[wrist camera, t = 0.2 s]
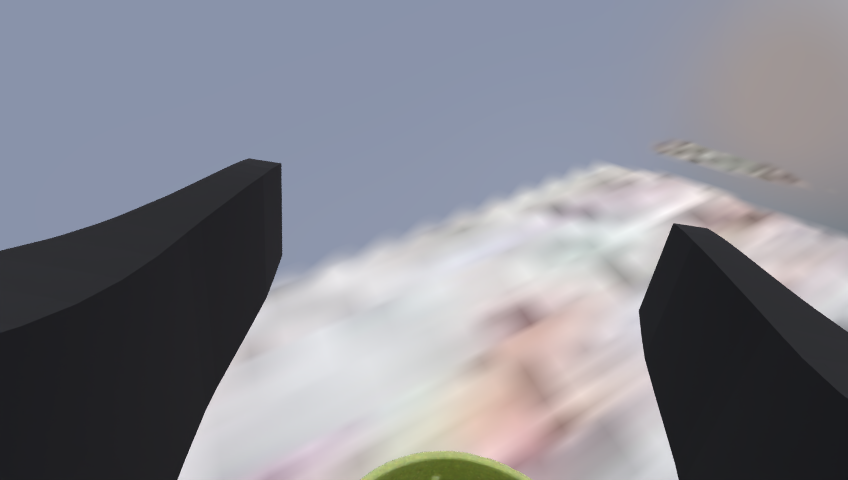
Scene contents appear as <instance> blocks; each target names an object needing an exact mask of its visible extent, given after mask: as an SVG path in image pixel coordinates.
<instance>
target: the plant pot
mask: <svg viewBox="0 0 848 480" xmlns="http://www.w3.org/2000/svg"><path fill="white" fill-rule="evenodd" d="M361 480H532V479H530V478H529V477H527V476H525V475H524V474H522V473H520V472H518V471H516V470H514V469H512V468H510V467H509V466H507V465H505V464H502V463H500V462H497V461H495V460H492V459H488V458H484V457H480V456H477V455H473V454H469V453H464V452H455V451H434V452H421V453H416V454H411V455H408V456H404V457H400V458H398V459H395V460H392V461H390V462H387V463H385V464H384V465H382V466H379V467H378V468H376V469H374V470H373V471H371V472H370V473H368V474H367V475H365V476H364V477H363V478H362V479H361Z"/></svg>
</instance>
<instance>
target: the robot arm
mask: <svg viewBox="0 0 848 480" xmlns="http://www.w3.org/2000/svg"><path fill="white" fill-rule="evenodd" d="M281 190H282V189H281V163H274V162H268V161H262V160H255V159H246V160H243V161H240V162H238V163H236V164H233V165H231V166H229V167H227V168H224V169H222V170H220V171H218V172H216V173H214V174H212V175H210V176H208V177H206V178H204V179H202V180H199V181H197V182H195V183H194V184H191V185H189V186H187V187H185V188H183V189H181V190H178V191H176V192H174V193H172V194H170V195H168V196H165V197H163V198H161V199H158V200H156V201H154V202H151V203H149V204H146V205H144V206H142V207H139V208H137V209H135V210H132V211H130V212H127V213H125V214H123V215H120V216H118V217H115V218H112V219H110V220H107V221H104V222H101V223H98V224H96V225H93V226H89V227H86V228H83V229H80V230H77V231H74V232H70V233H67V234H65V235H61V236H58V237H54V238H50V239H47V240H42V241H38V242H34V243H30V244H26V245H22V246H19V247H14V248H10V249H6V250H2V251H0V480H177V479H178V477H179V474H180V472H181V469H182V466H183V464H184V461H185V459H186V456H187V454H188V451H189V449H190V447H191V444H192V442H193V439H194V437H195V435H196V432H197V430H198V427H199V425H200V423H201V420H202V418H203V415H204V413H205V411H206V408H207V406H208V404H209V402H210V400H211V398H212V396H213V394H214V392H215V390H216V388H217V387H218V385H219V383H220V381H221V379H222V378H223V376H224V374H225V372H226V370H227V369H228V367H229V365H230V363H231V361H232V360H233V358H234V356H235V354H236V352H237V351H238V349H239V347H240V345H241V343H242V342H243V340H244V338H245V336H246V334H247V333H248V331H249V329H250V327H251V325H252V323H253V322H254V320H255V318H256V316H257V314H258V312H259V311H260V309H261V307H262V305H263V303H264V301H265V299H266V297H267V295H268V292H269V290H270V287H271V284H272V282H273V279H274V277H275V274H276V271H277V268H278V265H279V263H280V260H281V257H282V193H281ZM639 317H640V326H641V335H642V343H643V349H644V356H645V361H646V364H647V368H648V372H649V375H650V379H651V382H652V386H653V390H654V393H655V397H656V400H657V403H658V407H659V410H660V414H661V417H662V420H663V424H664V427H665V431H666V434H667V438H668V441H669V444H670V448H671V451H672V455H673V458H674V462H675V465H676V470H677V474H678V478H679V480H848V332H847V331H846V330H844V329H843V328H841V327H840V326H838V325H837V324H836V323H834V322H833V321H831V320H830V319H828V318H827V317H826V316H824V315H823V314H821V313H820V312H819V311H817V310H816V309H814V308H813V307H812V306H810V305H809V304H808V303H806V302H805V301H804V300H802V299H801V298H800V297H798V296H797V295H796V294H794V293H793V292H792V291H790V290H789V289H788V288H786V287H785V286H784V285H783V284H781V283H780V282H779V281H777V280H776V279H775V278H774V277H772V276H771V275H770V274H769V273H767V272H766V271H765V270H763V269H762V268H761V267H760V266H758V265H757V264H756V263H755V262H753V261H752V260H751V259H749V258H748V257H747V256H746V255H744V254H743V253H742V252H741V251H739V250H738V249H737V248H735V247H734V246H733V245H731V244H730V243H729V242H727V241H726V240H725V239H723V238H722V237H720V236H719V235H717V234H716V233H714V232H712V231H711V230H709V229H707V228H701V227H695V226H688V225H681V224H675V223H673V226H672V228H671V231H670V233H669V236H668V238H667V241H666V243H665V246H664V248H663V251H662V254H661V256H660V259H659V261H658V264H657V266H656V269H655V271H654V274H653V276H652V279H651V281H650V284H649V286H648V289H647V292H646V294H645V297H644V299H643V302H642V304H641V307H640V309H639Z"/></svg>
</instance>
